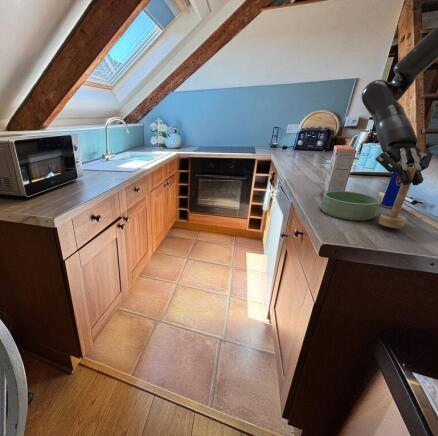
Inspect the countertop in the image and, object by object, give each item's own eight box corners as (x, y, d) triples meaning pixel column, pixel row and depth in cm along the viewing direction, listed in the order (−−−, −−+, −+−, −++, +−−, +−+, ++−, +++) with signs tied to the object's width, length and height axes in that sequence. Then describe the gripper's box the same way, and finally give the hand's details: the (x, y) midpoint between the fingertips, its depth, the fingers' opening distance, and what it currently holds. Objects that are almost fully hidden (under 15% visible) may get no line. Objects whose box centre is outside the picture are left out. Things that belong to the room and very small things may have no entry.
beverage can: (386, 208, 91) (401, 168, 85) (377, 203, 95) (391, 165, 89) (402, 209, 89) (419, 168, 84) (393, 204, 94) (408, 165, 88)
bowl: (362, 207, 92) (367, 192, 89) (384, 223, 78) (390, 206, 76) (314, 204, 96) (318, 189, 94) (327, 218, 83) (332, 202, 80)
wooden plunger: (396, 221, 76) (418, 166, 69) (407, 229, 71) (432, 169, 64) (374, 219, 77) (394, 165, 71) (383, 226, 73) (405, 169, 66)
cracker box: (321, 192, 110) (334, 144, 102) (338, 194, 108) (352, 145, 100) (323, 201, 99) (337, 148, 91) (341, 203, 97) (358, 149, 88)
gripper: (378, 125, 71) (395, 176, 65) (433, 124, 69) (456, 176, 63) (361, 142, 78) (375, 190, 72) (410, 142, 76) (429, 190, 69)
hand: (413, 183), depth 67 cm, fingers closed on wooden plunger
